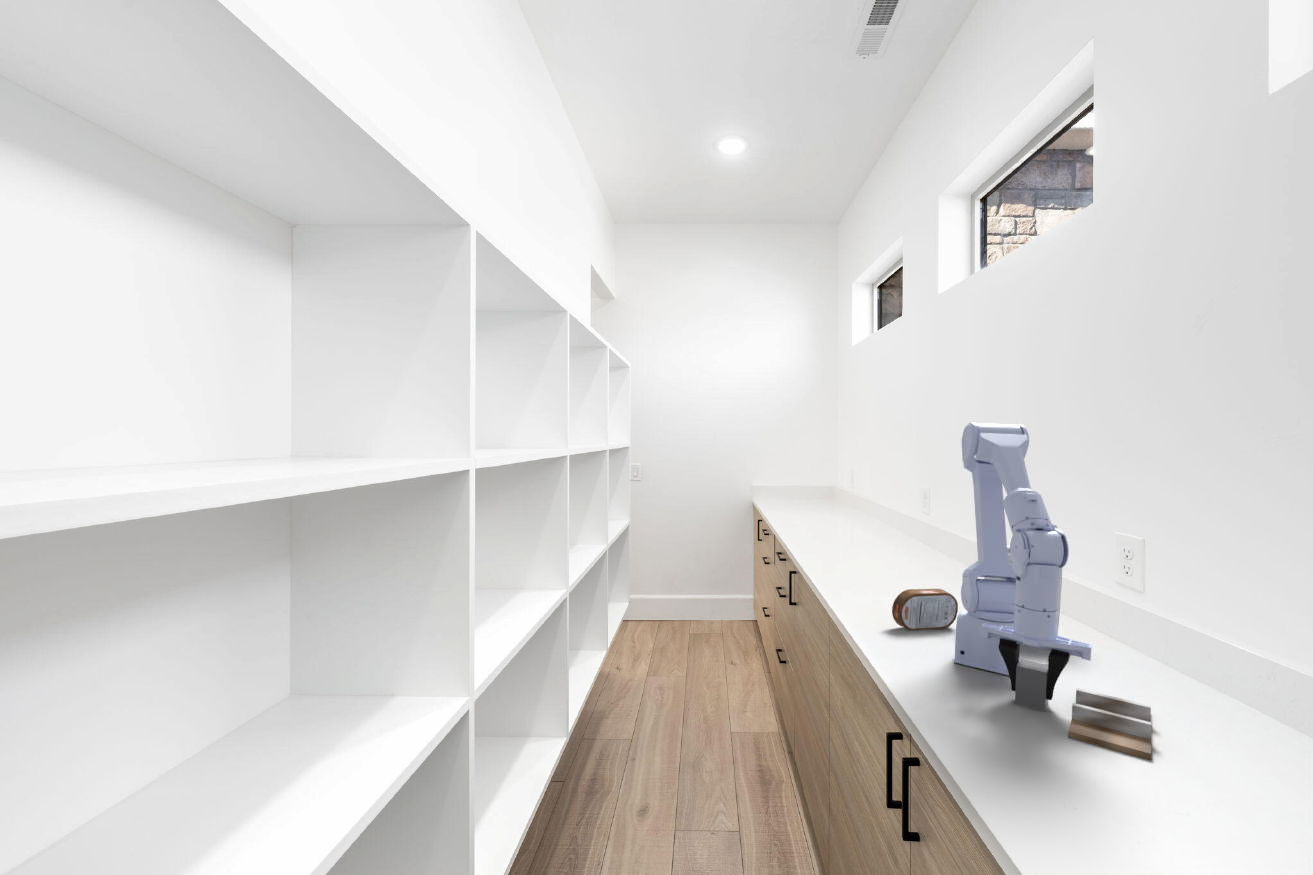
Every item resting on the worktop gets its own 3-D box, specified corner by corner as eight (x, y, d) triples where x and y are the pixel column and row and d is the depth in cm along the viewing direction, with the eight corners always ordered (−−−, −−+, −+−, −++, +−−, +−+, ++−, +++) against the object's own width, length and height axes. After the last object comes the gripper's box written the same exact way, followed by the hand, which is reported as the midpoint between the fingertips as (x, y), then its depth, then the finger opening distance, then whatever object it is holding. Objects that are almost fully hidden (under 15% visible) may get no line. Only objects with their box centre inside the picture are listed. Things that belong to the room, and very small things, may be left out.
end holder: (1068, 736, 86) (1069, 716, 86) (1078, 695, 100) (1079, 678, 100) (1151, 759, 81) (1152, 738, 81) (1149, 712, 95) (1150, 694, 95)
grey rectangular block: (1014, 704, 96) (1016, 665, 96) (1018, 695, 99) (1020, 658, 99) (1044, 712, 94) (1046, 672, 94) (1048, 703, 97) (1049, 665, 97)
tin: (949, 624, 136) (951, 586, 136) (959, 629, 133) (961, 590, 133) (890, 628, 132) (891, 589, 132) (899, 633, 129) (901, 592, 129)
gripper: (978, 602, 98) (975, 687, 98) (1090, 622, 89) (1086, 716, 89) (987, 593, 103) (984, 674, 103) (1093, 612, 94) (1089, 700, 95)
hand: (1031, 693), depth 97 cm, fingers closed on grey rectangular block, 4 cm apart
